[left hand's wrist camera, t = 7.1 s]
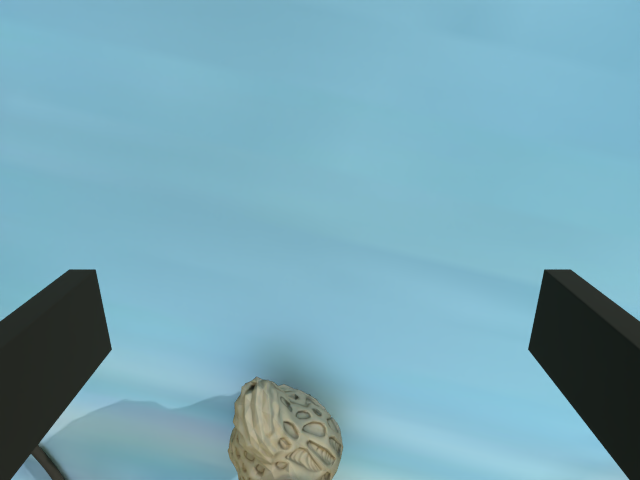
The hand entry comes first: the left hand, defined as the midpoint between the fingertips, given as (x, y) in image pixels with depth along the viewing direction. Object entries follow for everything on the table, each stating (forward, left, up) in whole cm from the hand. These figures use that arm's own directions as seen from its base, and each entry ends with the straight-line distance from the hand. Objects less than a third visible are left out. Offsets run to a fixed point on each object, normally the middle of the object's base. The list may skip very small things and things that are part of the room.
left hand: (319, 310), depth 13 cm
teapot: (+30, -3, -28) cm, 41 cm away
